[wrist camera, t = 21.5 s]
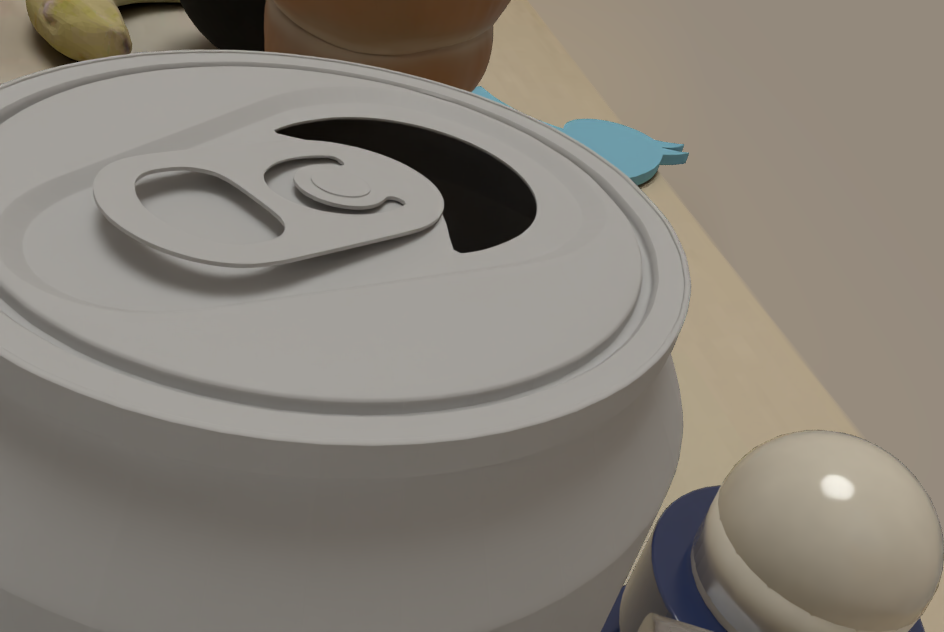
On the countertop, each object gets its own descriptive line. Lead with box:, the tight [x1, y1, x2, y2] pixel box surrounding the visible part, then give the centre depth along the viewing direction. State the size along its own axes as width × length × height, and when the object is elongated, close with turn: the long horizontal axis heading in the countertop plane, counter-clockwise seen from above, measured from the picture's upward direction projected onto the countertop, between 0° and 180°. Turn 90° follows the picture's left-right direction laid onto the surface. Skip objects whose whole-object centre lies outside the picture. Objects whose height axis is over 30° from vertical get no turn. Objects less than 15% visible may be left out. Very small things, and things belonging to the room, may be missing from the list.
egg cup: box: [601, 430, 944, 632], centre depth 15 cm, size 6×6×7 cm
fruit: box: [26, 0, 181, 61], centre depth 41 cm, size 7×15×3 cm, turn 176°
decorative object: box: [471, 86, 689, 185], centre depth 39 cm, size 12×1×10 cm
